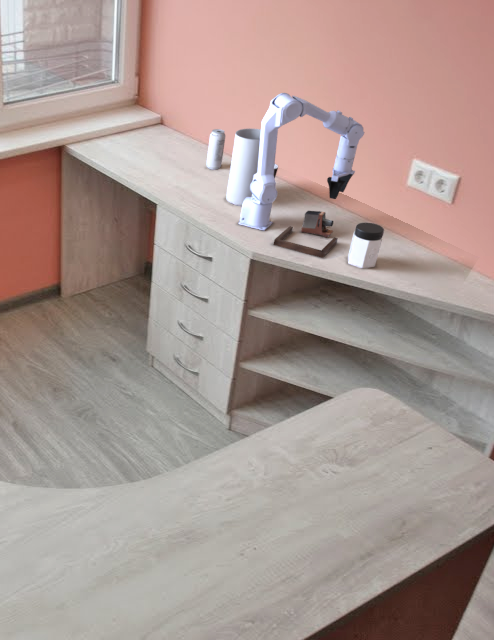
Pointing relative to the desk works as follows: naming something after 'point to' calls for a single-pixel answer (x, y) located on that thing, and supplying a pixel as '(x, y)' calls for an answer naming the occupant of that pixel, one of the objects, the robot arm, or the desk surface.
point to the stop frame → (300, 248)
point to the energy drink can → (215, 149)
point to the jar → (365, 245)
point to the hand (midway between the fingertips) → (336, 194)
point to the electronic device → (316, 223)
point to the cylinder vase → (243, 165)
